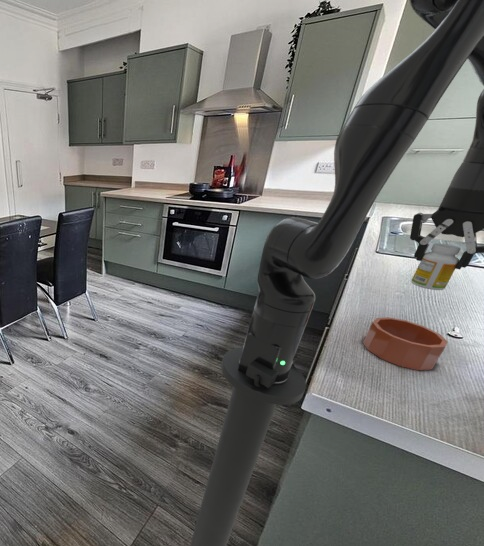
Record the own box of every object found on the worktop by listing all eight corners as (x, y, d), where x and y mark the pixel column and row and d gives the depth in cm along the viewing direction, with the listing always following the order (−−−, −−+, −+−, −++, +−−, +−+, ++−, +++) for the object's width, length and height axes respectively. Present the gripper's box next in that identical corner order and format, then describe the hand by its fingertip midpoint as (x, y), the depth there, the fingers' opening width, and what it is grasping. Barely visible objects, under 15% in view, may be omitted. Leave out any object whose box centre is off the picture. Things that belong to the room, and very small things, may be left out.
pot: (427, 377, 64) (441, 354, 62) (357, 348, 73) (366, 327, 70) (438, 357, 70) (451, 335, 68) (372, 332, 79) (381, 312, 76)
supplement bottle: (443, 286, 71) (464, 245, 68) (444, 293, 68) (467, 251, 64) (410, 279, 75) (429, 240, 71) (410, 285, 72) (429, 245, 68)
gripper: (422, 184, 66) (390, 258, 73) (537, 192, 55) (486, 279, 62) (430, 181, 70) (398, 252, 77) (538, 189, 59) (490, 270, 66)
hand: (438, 263), depth 69 cm, fingers closed on supplement bottle, 5 cm apart
